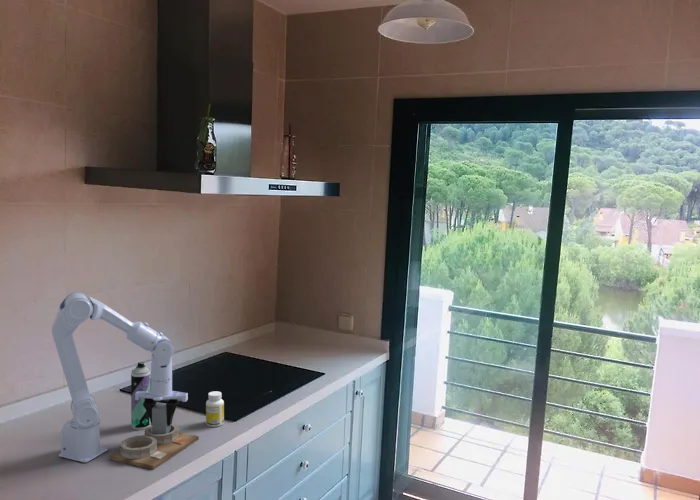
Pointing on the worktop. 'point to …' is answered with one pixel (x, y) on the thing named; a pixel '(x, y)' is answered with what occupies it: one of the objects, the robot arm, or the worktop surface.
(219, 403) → the supplement bottle
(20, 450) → the worktop surface
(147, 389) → the spray can
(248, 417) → the worktop surface
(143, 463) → the socket board
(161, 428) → the plug
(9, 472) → the worktop surface
